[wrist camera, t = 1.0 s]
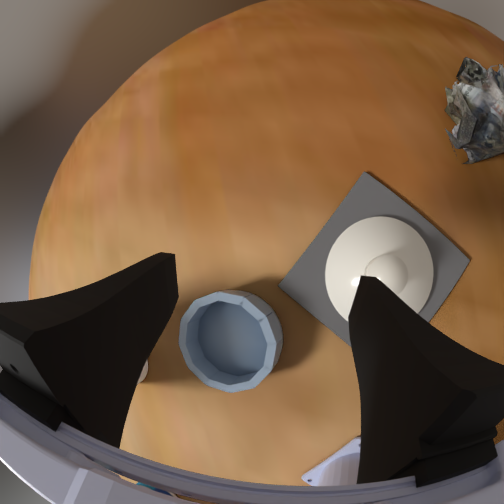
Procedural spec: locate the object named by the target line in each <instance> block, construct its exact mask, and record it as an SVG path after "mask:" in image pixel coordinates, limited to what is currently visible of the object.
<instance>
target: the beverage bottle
mask: <svg viewBox="0 0 504 504" xmlns="http://www.w3.org/2000/svg"><path fill="white" fill-rule="evenodd" d="M136 485H139V486H142V487H144V488H147V489H150V490H153V491H156V492H159V493H163V494H166V495H169V496H173V497H176V498H178V497H177V496H176V495H175V494H174V493H171V492H168V491H164V490H161V489H158V488H155V487H152V486H149V485H146V484H143V483H140V482H138V483H137V484H136Z"/></svg>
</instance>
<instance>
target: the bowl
mask: <svg viewBox="0 0 504 504" xmlns="http://www.w3.org/2000/svg"><path fill="white" fill-rule="evenodd" d="M179 346H180V349H181V352H182V354H183V357H184V359H185V362H186V365H187V367H188V368H189V369H190V370H191V371H192V372H193V373H194V374H195V375H196V376H197V377H198V378H199V379H200V380H201V381H202V382H203V383H204V384H205V385H206V384H207V386H210V387H213V388H216V389H219V390H222V391H226V392H229V393H233V392H238V391H243V390H247V389H252V388H255V387H256V386H257V385H258V384H259V383H260V382H261V381H262V380H263V379H264V378H265V377H266V376H267V375H268V374H269V373H270V372H271V371H272V369H273V368H274V367H275V365H276V364H277V362H278V360H279V356H280V354H281V351H282V347H283V331H282V326H281V323H280V321H279V318H278V316H277V315H276V313H275V311H274V310H273V309H272V308H271V306H270V305H269V304H268V303H267V302H265V301H264V300H263V299H261V298H260V297H258V296H256V295H254V294H252V293H250V292H246V291H240V290H229V289H228V290H223V291H217V292H215V293H212V294H209V295H207V296H204V297H201V298H199V299H196V300H194V302H193V303H192V304H191V306H190V307H189V309H188V310H187V311H186V313H185V314H184V315H183V317H182V318H181V322H180V332H179Z"/></svg>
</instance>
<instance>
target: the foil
mask: <svg viewBox="0 0 504 504" xmlns="http://www.w3.org/2000/svg"><path fill="white" fill-rule="evenodd" d="M465 65H466V67H465ZM501 65H502V66H501ZM501 65H500V64H499V70H498V73H497V72H495V71H494V70H493V69H492V68H489V69H488V70H486V69H484V68H483V67H482V66H481V65H480V64H479V63H478V62H476V61H474V60H472V59H470V58H467V57H465V58H464V60H463V63H462V65H461V67H460V70H459V72H458V74H457V76H456V77H458V78H457V79H458V80H459V81H460V83H459V84H457V83H456V82H457V81H456V82H455V85H453V89H449V88H445V90H446V95H447V101H448V105H447V107H446V109H445V112H446V113H447V114H448V115H449V116H450V117H451V119H452V120H453V121H454V122H455V123H456V124H457V126H454V128H453V129H452V132H453V135H452V134H451V133H450V132H449V131H447V130H446V129H445V130H446V132H447V133H448V135H449V137H450V139H451V141H452V143H453V145H454V147H455V148H457V149H461V148H463V149H464V150H465V151H466V152H467V155H468V161H467V162H466V163H463V164H472V163H475V162H478V161H480V160H483V159H487V158H490V157H492V156H493V157H494V155H497V154H500V153H503V152H504V68H503V64H501ZM495 66H497V65H495ZM490 67H493V66H490ZM446 87H447V86H446ZM450 139H449V140H450ZM451 141H450V142H451ZM452 143H451V144H452ZM452 147H453V146H452ZM453 149H454V148H453ZM454 152H455V151H454ZM500 155H501V154H500ZM456 157H457V156H456Z"/></svg>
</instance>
